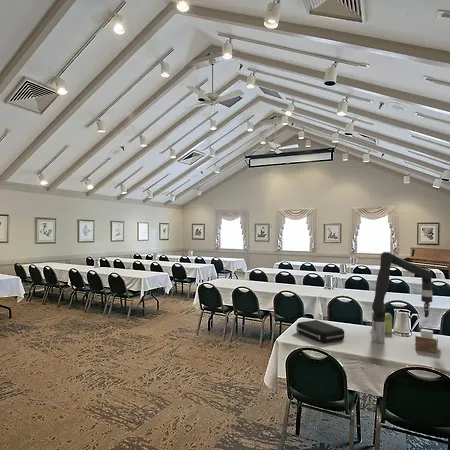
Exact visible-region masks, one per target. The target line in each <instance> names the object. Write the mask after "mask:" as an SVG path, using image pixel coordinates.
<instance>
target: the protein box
mask: <svg viewBox="0 0 450 450" xmlns="http://www.w3.org/2000/svg"><path fill="white" fill-rule="evenodd" d="M373 313H374V311H373V312H371V330H372V329H373ZM391 332H392V333H393V315H392V314H391V313H390V312H385V334H386V333H387V334H390V333H391Z"/></svg>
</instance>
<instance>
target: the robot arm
mask: <svg viewBox="0 0 450 450" xmlns="http://www.w3.org/2000/svg"><path fill="white" fill-rule="evenodd" d="M379 265H380V266H379V271H378V274H377V276H376V283H375V289H374V290H375V291H374V298H373V302H372V304H371V305H372V306H371V309H372V311H373V312H374V313H373V329H372V328H371V338H370V339H371V341H372V342H374V343H376V344H384V343H385V339H386V338H385V335H386V332H385V313H386V304H385V297H386V294H387V291H388V288H389V284H390V271H391V270H390V269H391V266H392V265H395V266H397V267H400V268H401V269H403V270H404V271H407V272H409V273H412V274H414V275H417V276H418V277H420V278H421V295H420V296H421V302H423V311H424V318H429V315H430V309H431V307H430V306H431V304H430V303H432V302H433V284H432V279H433V273H432V271H431V270H429V269H425V268H422V267H420V266H419V265H417V264H415V263H412V262H410V261H407V260H405V259H402V258H400V257H398V256H396V255H395V254H393V253H392V252H390V251H386V250H385V251H383V252H382V253H381V254H380V264H379Z"/></svg>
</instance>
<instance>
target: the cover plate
mask: <svg viewBox="0 0 450 450" xmlns="http://www.w3.org/2000/svg"><path fill="white" fill-rule="evenodd" d="M416 336H421V337H427V338H433V339H436V342H437V338H438V339H439V337H438V335H434V330H430V329H425V328H421V330H420V333H419V332H417V334H416Z"/></svg>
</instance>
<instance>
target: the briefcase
mask: <svg viewBox="0 0 450 450" xmlns="http://www.w3.org/2000/svg"><path fill="white" fill-rule="evenodd" d="M295 330H296V333H297V334H299V335H302V336H305V337H307V338H309V339H312V340H313V341H316V342H319V343H321V344H328V343H334V342H340V341H343V340H344V339H345V330H344V329H343V328H341V327H338V326H335V325H332V324H330V323H327V322H324V321H321V320H318V319H315V320H314V319H313V320H308V321H307V320H306V321H300V322H298V323H296V329H295Z"/></svg>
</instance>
